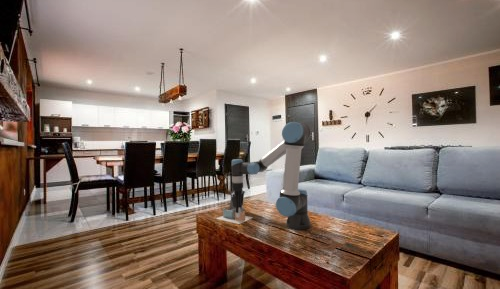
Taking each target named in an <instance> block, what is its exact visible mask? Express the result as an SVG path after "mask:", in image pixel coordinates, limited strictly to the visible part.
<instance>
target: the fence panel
mask: <svg viewBox="0 0 500 289" xmlns="http://www.w3.org/2000/svg"><path fill="white" fill-rule="evenodd" d="M245 216H246V211H245V210H244V211H243V212H241V217H240V218H238V217H236V212H235V219H238V220H242V221H245ZM245 222H246V221H245Z"/></svg>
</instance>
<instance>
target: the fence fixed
mask: <svg viewBox="0 0 500 289" xmlns="http://www.w3.org/2000/svg"><path fill="white" fill-rule="evenodd" d="M222 212H223V213H222V216H223V217H227V218H231V219H232V218H233V219H235V209H233V211H229V210H228V209H226V208H225V207H224V208H223V209H222Z"/></svg>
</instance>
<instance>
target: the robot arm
mask: <svg viewBox="0 0 500 289" xmlns="http://www.w3.org/2000/svg"><path fill="white" fill-rule="evenodd" d="M311 134H312V132H311V128H310V127H309V125H308V124H307V123H303V122H299V121H291V122H287V123H286V124H285V125H284V126H283V127H282V130H281V136H282V139H283V141H282V142H280V143H279V144H278V145H276V146H275V147H273V149H271V150H270V151H269V152H267V153H266V154H265V155H263V157H261V158H260V159H258V160H257V161H252V162H244V161H243V159H241V158H239V159H238V158H236V159H235V158H234V159H232V160H231V182H232V183H231V189H232V188H233V193H232V192H231V193H230V198H231V197H232V202H233V207H235V208H236V217H238V218H240V217H241V207H242V206H244V196H245V190H243V189H244V174H245V175H257V174H258V173H262V172H263V173H264V172H265V171H267V169H268V167H269V166H271V165H273V164H274V163H276V162H277V161H278V160H279V159H281V158H282V157H283V156H285V158H284V160H285V161H284V172H283V184H282V189H281V190H279V197H277V200H276V202H275V207H276V210H277V212H278V213H279V214H280V215H281V216H283V217H287V219H286V227H287V228H289V229H292V230H298V231H300V230H301V231H303V230H308V229H310V228H311V226H312V225H311V223H312V222H311V220H310V217H309V214H308V208H309V207H308V192H307V190H306V189H301V188H300V189H299V179H300V169H301V157H302V149H303V148H304V147H305V146H306V142H307V141H308V140H309V139H310V137H311Z"/></svg>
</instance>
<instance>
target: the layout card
mask: <svg viewBox="0 0 500 289" xmlns="http://www.w3.org/2000/svg"><path fill="white" fill-rule="evenodd" d="M251 219H254V216H248V215H245V221H242V220H238V219H233V218H232V219H231V218H227V217H223V215H222V216H221V215H220V216H219V217H216V220H219V221H224V222H227V223H231V224H235V225H241V224H243V223H246V222H248V221H249V220H251Z"/></svg>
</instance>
